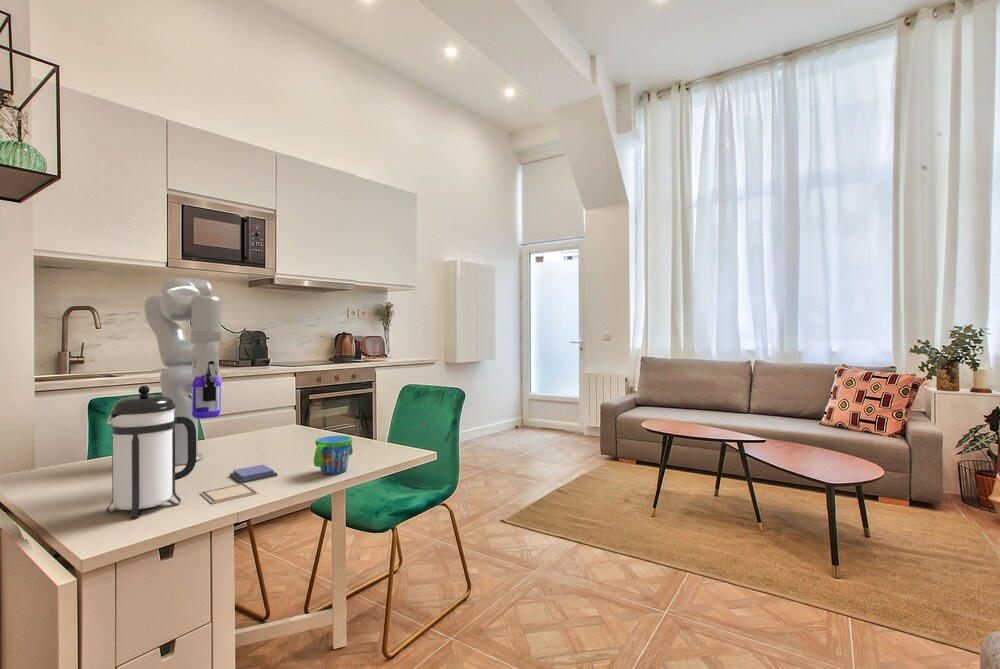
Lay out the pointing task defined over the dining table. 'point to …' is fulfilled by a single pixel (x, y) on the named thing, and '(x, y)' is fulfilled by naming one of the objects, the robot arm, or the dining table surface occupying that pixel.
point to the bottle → (205, 407)
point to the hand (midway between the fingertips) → (206, 399)
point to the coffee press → (146, 451)
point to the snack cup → (333, 453)
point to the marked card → (228, 493)
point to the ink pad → (252, 473)
